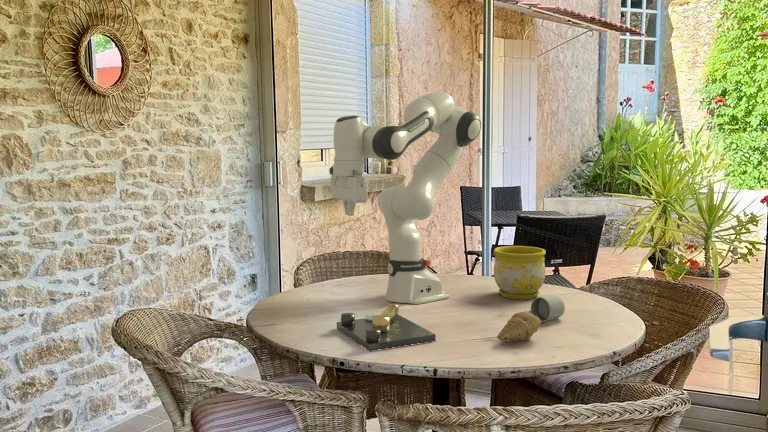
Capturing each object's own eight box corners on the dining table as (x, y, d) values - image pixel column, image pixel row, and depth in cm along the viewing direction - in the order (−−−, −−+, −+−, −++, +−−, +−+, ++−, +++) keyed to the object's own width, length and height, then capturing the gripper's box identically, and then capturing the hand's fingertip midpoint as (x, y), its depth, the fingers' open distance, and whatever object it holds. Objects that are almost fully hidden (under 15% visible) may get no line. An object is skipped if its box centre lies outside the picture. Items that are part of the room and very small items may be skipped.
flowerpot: (555, 296, 239) (556, 250, 237) (519, 304, 229) (519, 256, 227) (518, 287, 254) (519, 244, 252) (482, 294, 243) (483, 248, 242)
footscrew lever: (387, 332, 189) (387, 320, 188) (370, 331, 190) (370, 319, 190) (402, 315, 207) (402, 303, 207) (386, 314, 209) (386, 302, 208)
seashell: (513, 350, 180) (513, 321, 179) (489, 343, 186) (489, 315, 185) (543, 339, 189) (544, 311, 188) (519, 333, 195) (520, 306, 194)
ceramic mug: (566, 319, 209) (566, 295, 208) (549, 324, 204) (550, 299, 203) (538, 313, 217) (539, 290, 217) (522, 318, 212) (522, 293, 212)
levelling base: (397, 320, 210) (397, 304, 209) (435, 341, 188) (435, 323, 188) (336, 328, 201) (336, 312, 201) (369, 351, 180) (369, 333, 179)
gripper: (372, 171, 197) (373, 218, 199) (345, 168, 216) (346, 211, 217) (352, 171, 195) (353, 219, 196) (326, 168, 213) (327, 212, 215)
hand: (349, 215), depth 207 cm, fingers closed
